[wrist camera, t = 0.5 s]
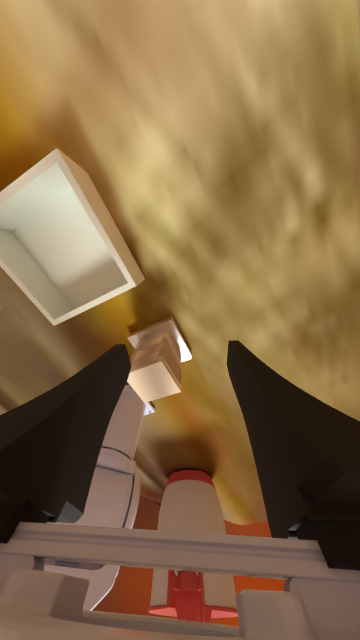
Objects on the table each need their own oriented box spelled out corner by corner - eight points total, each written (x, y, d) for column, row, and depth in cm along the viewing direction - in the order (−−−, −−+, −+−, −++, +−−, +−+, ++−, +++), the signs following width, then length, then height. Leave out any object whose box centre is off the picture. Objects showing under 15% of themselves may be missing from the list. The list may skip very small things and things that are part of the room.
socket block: (154, 364, 23) (144, 402, 17) (138, 341, 21) (122, 375, 16) (181, 354, 22) (180, 391, 16) (167, 329, 21) (161, 361, 15)
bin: (76, 313, 21) (53, 326, 17) (9, 228, 17) (-39, 222, 13) (145, 279, 19) (136, 285, 15) (87, 173, 15) (56, 147, 11)
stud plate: (152, 367, 25) (143, 401, 19) (129, 333, 22) (111, 361, 17) (191, 353, 24) (194, 385, 18) (172, 315, 21) (168, 339, 15)
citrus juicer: (214, 457, 36) (245, 664, 18) (221, 488, 43) (248, 660, 25) (152, 462, 38) (124, 657, 20) (168, 492, 45) (159, 655, 27)
